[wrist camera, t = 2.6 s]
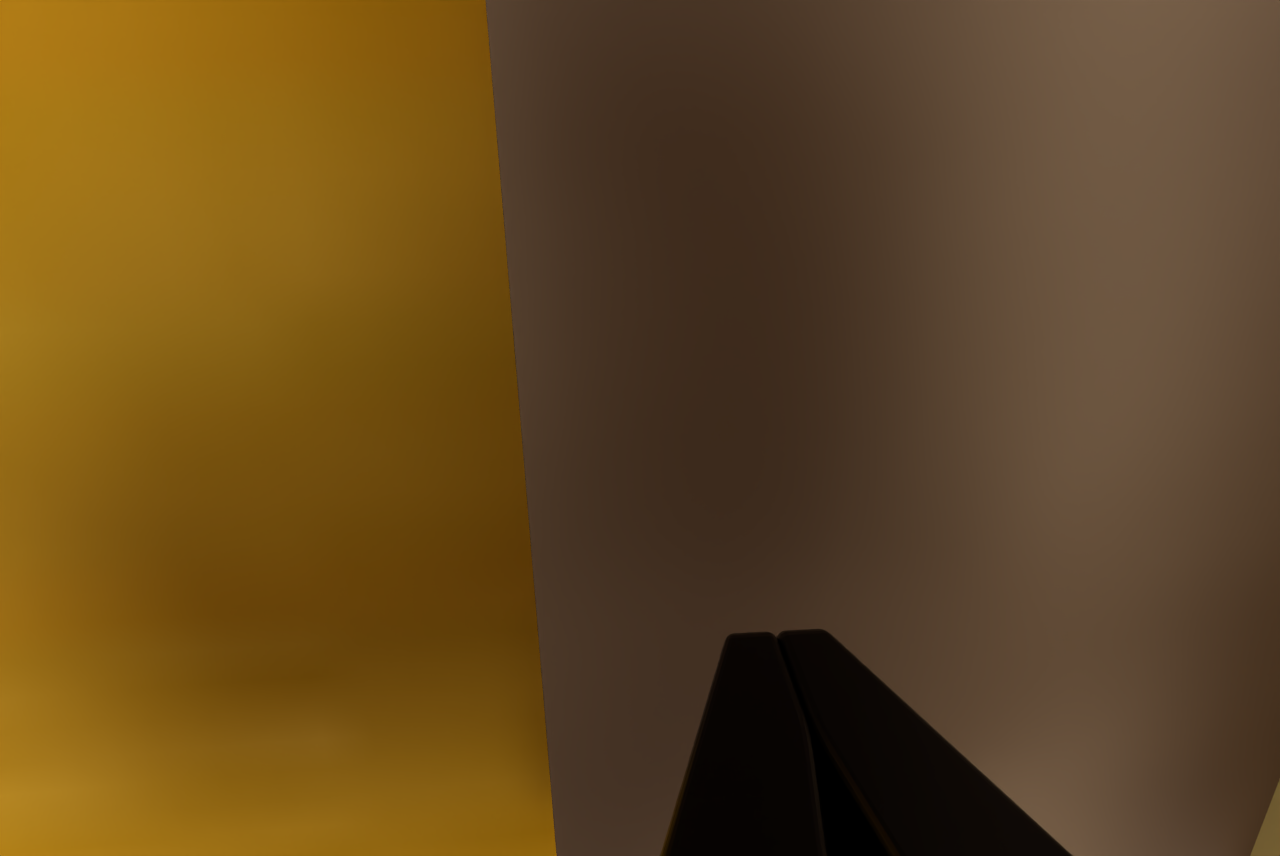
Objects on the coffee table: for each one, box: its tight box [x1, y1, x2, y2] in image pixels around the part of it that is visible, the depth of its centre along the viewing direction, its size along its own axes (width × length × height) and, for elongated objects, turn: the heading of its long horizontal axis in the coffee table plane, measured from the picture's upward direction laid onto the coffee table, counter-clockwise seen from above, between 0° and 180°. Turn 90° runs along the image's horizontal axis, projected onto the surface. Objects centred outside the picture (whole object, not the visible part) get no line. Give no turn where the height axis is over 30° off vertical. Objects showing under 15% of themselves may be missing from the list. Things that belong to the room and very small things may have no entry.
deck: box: [486, 0, 1280, 856], centre depth 12 cm, size 16×14×4 cm
